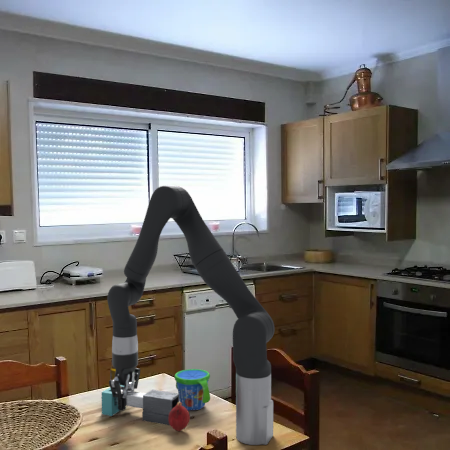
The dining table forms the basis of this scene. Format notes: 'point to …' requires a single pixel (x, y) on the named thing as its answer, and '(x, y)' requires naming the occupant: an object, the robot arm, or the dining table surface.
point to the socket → (109, 403)
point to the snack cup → (193, 388)
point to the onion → (179, 417)
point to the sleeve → (158, 406)
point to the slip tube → (132, 399)
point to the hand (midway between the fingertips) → (125, 407)
